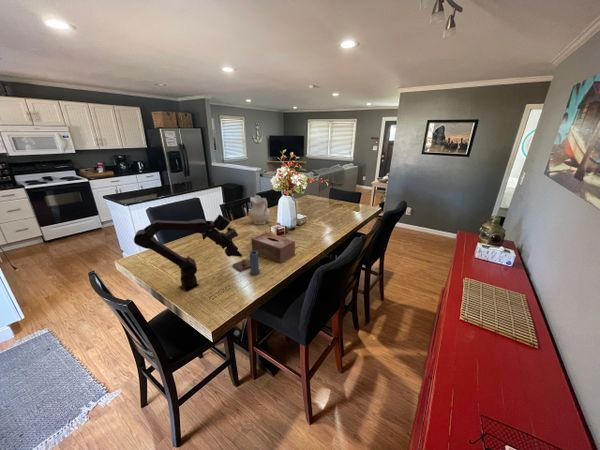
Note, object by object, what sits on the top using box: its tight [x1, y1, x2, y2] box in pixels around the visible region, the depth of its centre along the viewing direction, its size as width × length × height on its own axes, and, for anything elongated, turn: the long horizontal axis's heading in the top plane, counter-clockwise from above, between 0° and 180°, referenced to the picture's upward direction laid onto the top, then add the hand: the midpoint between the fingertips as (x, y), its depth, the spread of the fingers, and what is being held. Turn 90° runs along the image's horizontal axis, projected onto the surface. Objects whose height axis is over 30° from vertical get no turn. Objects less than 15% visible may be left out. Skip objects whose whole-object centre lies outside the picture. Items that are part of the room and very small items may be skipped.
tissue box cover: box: [250, 231, 296, 264], centre depth 159 cm, size 26×14×10 cm, turn 53°
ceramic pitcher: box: [247, 194, 271, 225], centre depth 215 cm, size 22×20×25 cm
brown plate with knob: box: [232, 258, 251, 272], centre depth 144 cm, size 10×9×4 cm
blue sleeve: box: [249, 250, 260, 276], centre depth 135 cm, size 5×5×13 cm
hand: (239, 252), depth 131 cm, fingers open, 9 cm apart
